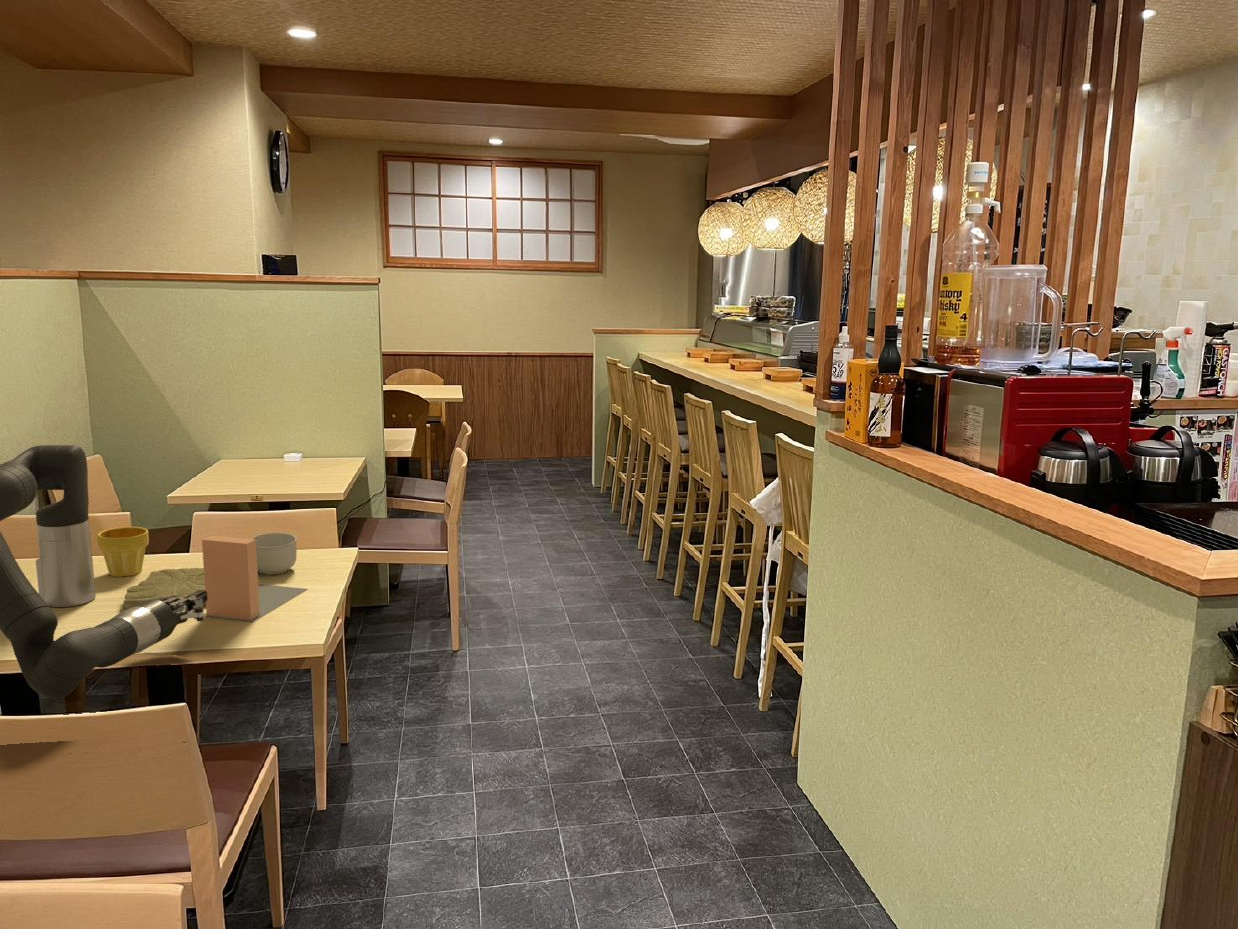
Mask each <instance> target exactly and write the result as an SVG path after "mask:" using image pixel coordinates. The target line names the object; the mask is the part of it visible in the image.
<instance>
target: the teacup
mask: <svg viewBox="0 0 1238 929" xmlns="http://www.w3.org/2000/svg"><path fill="white" fill-rule="evenodd" d="M250 539H253V540H256V552H257V571H258V573H260V574H262V575H266V574H267V575H269V576H270V575H271V574H272V575H273V576H274V574H275V575H280V573H281V574H283V572H284V573H287V572H288V571H289V570H290V569H291V568H293V567H294V565H295V564H296V562H297V557H298V556H297V552H298V551H297V541H298V538H297V536H296V535H294V534H291V533H287V532H267V533H261V534H257V535H254V536H252V537H251V538H250ZM287 570H288V571H287ZM272 575H271V576H272Z"/></svg>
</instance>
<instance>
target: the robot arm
mask: <svg viewBox="0 0 1238 929" xmlns="http://www.w3.org/2000/svg"><path fill="white" fill-rule="evenodd" d="M88 475H89V472H88V460H87V455H86V452H85V451H84V449H83V448H82V447H81V446H79V445H76V444H75V445H74V444H73V445H72V444H57V445H56V444H48V445H47V444H46V445H45V444H43V445H41V444H40V445H35V446H31V447H29V448H27V449H26V450H24V451H23V452H21V453H20V454H18V455H16V457H14V458H13V459H11V460H10V459H9V460H8V461H5V462H3V463H0V522H2V521H4V520H5V519H8V518H10V517H12V516H14V515H16V514H18V513H20V512H21V511H23V510H25V509H26V508H28V507H29V506H30V505H31V504H32V503H33V502H34V501H35V499H36V497H37V493H38V491H63V496H62V499H60V500H59V501H57V502H54V503H50V504H47V505H44V506H42V507H40V508H39V509H38V510H36V513H35V518H36V520H35V521H36V528H37V538H38V548H39V549H38V550H39V558H37V559H36V560H35V566H36V567H35V568H36V577H37V588H38V591H37V590H36V588H35V587H34V586H33V585H32V584H31V582H30V580H29V579H28V578H27V576H26V575H25V573H24V572H23V571H22V569H21V567H20V566H19V563H18V561H17V560H16V558H15V556H14V555H13V553H12V550H11V549H10V546H9V545H8V543H7V541H6V538H5V537H4V536H3V534H2V532H1V531H0V631H1V633H3V635H5V637H6V639H8V641H9V642H10V644H11V647H12V649H13V653H14V656H15V658H16V661H17V663H18V666H19V668H20V670H21V673H22V675H23V677H24V680H25V681H26V683H27V684H28V685H29V687H30V688H31V689H32V690H33V691H34V692H36V693H37V694H39V695H40V696H42V697H45V698H48V699H61V698H64V697H66V696H68V695H70V694H71V693H72V692H73V691H74V690H75V689H76V688H77V687H78V686H79V685H80V684H81V683H82V681H84V679H85V678H86V677H87V675H89V673H90V672H91V671H92V670H94V669H95V668H98V669H99V668H100V669H101V668H107V667H110V666H113V665H115V664H117V663H119V662H121V661H123V660H125V659H126V658H129V657H131V656H132V655H135V654H138V653H141V652H143V651H144V650H147V649H148V648H150V647H152V646H154V645H155V644H157V643H159V642H161V641H163V640H165V639H167V638H168V637H170V636H171V635H172V633H173V632H174V630H175V629H176V627H177V625H180V624H184V623H186V622H188V620H189V619H194V620H196V622H203V621H204V620H205V617H204V614H205V612H204V606H203V603H204V602H206V601H207V600H208V598H207V591H203V590H198V591H196V592H194V593H192V594H190V595H183V596H180V597H178V598H177V596H176V595H173V596H168V597H163V598H157V599H150V600H146V601H143V602H142V603H140V604H138V605H136V606H134V607H132V608H130V609H128V610H125V611H123V610H122V612H121V611H120V613H117V614H116V615H115V616H113V617H112V618H109V619H108V620H105V621H104V622H101V623H99V624H97V625H95V626H93V627H86V628H81V629H76V630H72V631H70V632H66V633H65V634H63V635H62V636H60V637H58V638H56V639H55V638H54V636H55V634H56V633H55V632H56V629H57V628H58V622H59V621H58V617H57V615H56V614H55V612H54V611H53V610H52V607H53V608H65V607H66V608H68V607H75V606H80V605H83V604H86V603H89V602H91V601H93V600H94V599H96V585H95V573H94V563H93V562H94V561H93V551H92V550H93V549H92V539H91V529H90V519H89V517H90V516H89V506H90V505H89V504H90V502H89V499H90V498H89V487H88V486H89V485H88V484H89V482H88V481H89V480H88V479H89V476H88Z"/></svg>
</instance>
